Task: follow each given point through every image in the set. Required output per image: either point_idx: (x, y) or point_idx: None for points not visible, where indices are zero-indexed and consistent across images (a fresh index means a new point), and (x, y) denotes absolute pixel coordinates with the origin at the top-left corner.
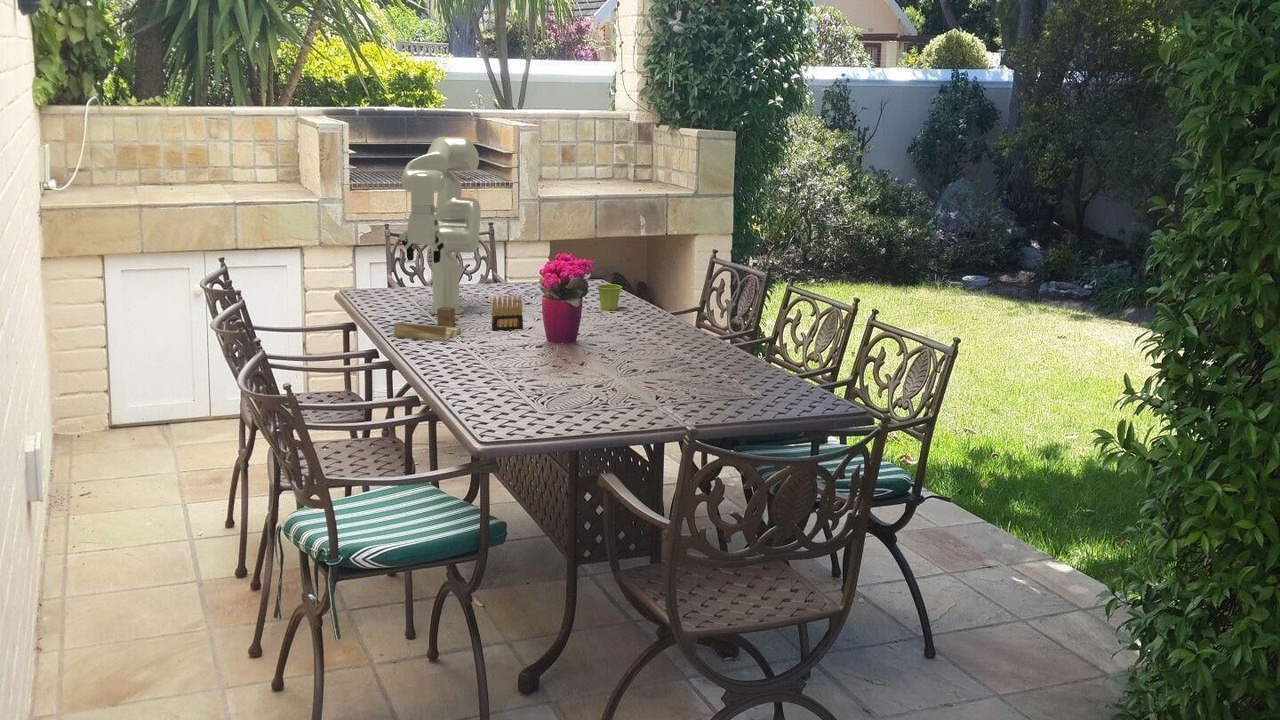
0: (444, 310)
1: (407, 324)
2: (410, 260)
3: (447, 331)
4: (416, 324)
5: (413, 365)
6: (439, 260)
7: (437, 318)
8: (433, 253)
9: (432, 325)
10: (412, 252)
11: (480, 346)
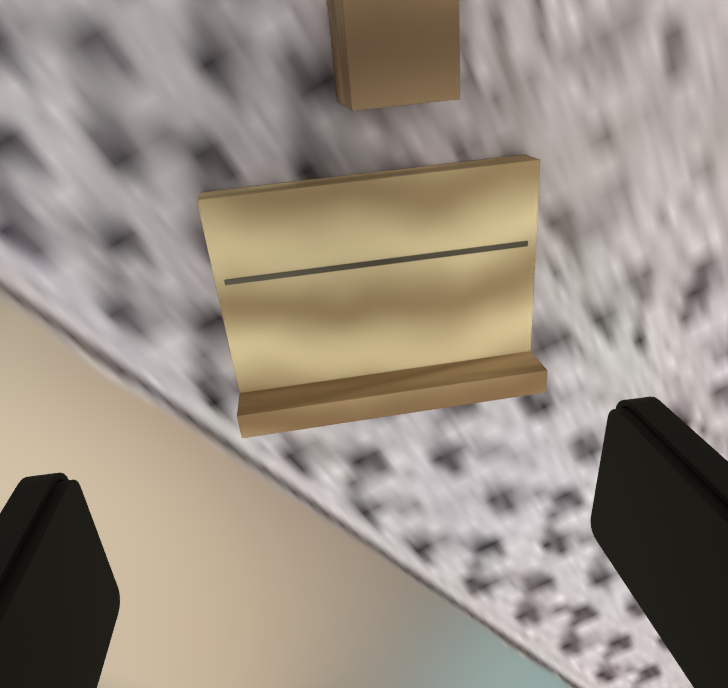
0: (414, 103)
1: (324, 422)
2: (96, 557)
3: (509, 290)
4: (369, 399)
5: (563, 665)
6: (660, 412)
7: (344, 105)
8: (690, 681)
9: (349, 186)
10: (29, 649)
11: (706, 363)
